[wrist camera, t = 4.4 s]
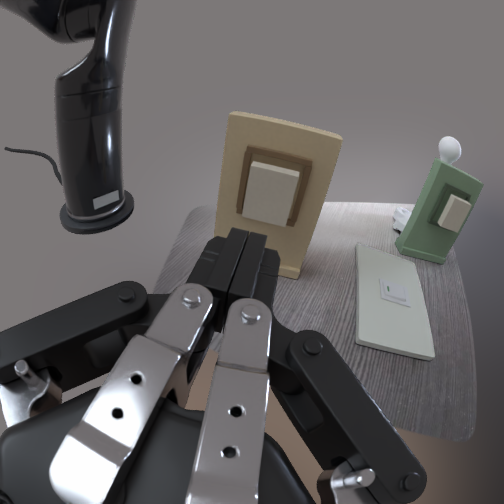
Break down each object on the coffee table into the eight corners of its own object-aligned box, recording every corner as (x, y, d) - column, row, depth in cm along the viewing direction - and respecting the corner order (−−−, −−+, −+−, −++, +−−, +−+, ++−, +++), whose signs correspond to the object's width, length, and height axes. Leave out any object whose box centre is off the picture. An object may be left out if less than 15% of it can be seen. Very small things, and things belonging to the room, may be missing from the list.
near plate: (297, 279, 30) (343, 141, 20) (210, 258, 31) (227, 114, 21) (298, 263, 33) (340, 134, 23) (218, 242, 33) (235, 109, 23)
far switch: (457, 232, 33) (471, 205, 29) (440, 226, 32) (455, 197, 29) (454, 228, 33) (468, 201, 30) (437, 222, 33) (451, 193, 30)
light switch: (437, 355, 22) (359, 337, 24) (431, 361, 23) (354, 343, 24) (415, 260, 36) (357, 240, 37) (412, 266, 36) (355, 246, 38)
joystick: (408, 243, 42) (455, 139, 29) (379, 219, 46) (417, 119, 34) (431, 234, 47) (471, 148, 34) (406, 213, 52) (439, 130, 39)
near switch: (285, 227, 24) (299, 176, 21) (241, 216, 25) (250, 165, 21) (286, 220, 25) (299, 171, 22) (244, 210, 26) (253, 160, 22)
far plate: (443, 264, 39) (485, 186, 29) (400, 253, 39) (443, 163, 29) (436, 254, 41) (475, 177, 31) (394, 242, 41) (433, 156, 31)
